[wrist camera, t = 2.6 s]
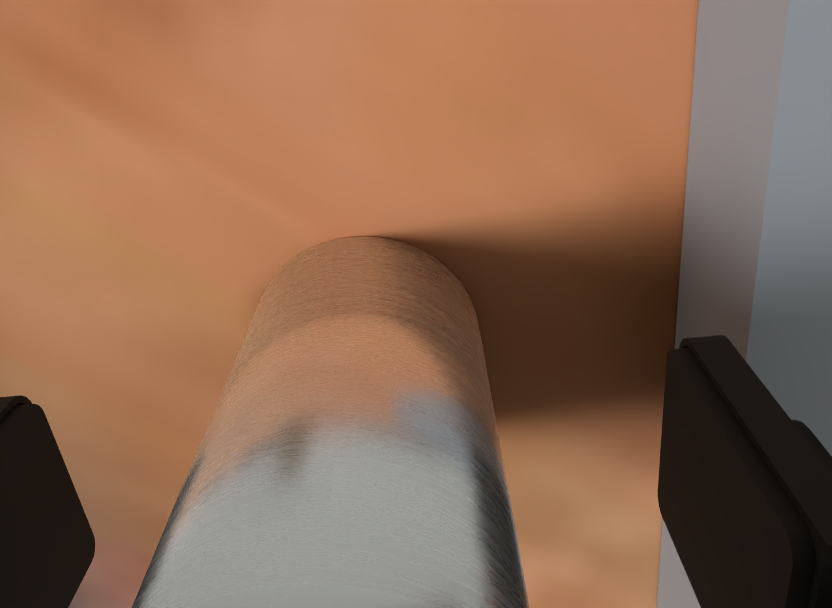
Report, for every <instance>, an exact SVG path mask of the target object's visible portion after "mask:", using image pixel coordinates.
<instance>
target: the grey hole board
mask: <svg viewBox="0 0 832 608" xmlns="http://www.w3.org/2000/svg"><path fill="white" fill-rule="evenodd" d="M715 335H725V336H726V337H727V338H728V339H729V340H730V342H731V343H732V344H733V345H734V347H735V348H736V349H737V351H738V352H739V353H740V354H741V356H742V357H743V358H744V360H745V361H746V362H747V363H748V365H749V366H750V367H751V369H752V370H753V371H754V372H755V374H756V375H757V376H758V378H759V379H760V380H761V381H762V383H763V384H764V385H765V387H766V388H767V389H768V390H769V392H770V393H771V394H772V396H773V397H774V398H775V400H776V401H777V402H778V403H779V405H780V406H781V407H782V409H783V410H784V411H785V412H786V414H787V415H788V416H789V418H790V419H791V420H798V421H801V422H803V423H804V424H805V425H806V426H807V427H808V428H809V429H810V430H811V431H812V432H813V434H814V435H815V436H816V437H817V439H818V440H819V441H820V442H821V444H822V445H823V446H824V447H825V449H826V450H827V451H828V452H829V454H830V455H831V456H832V0H699V5H698V20H697V34H696V48H695V63H694V77H693V91H692V106H691V120H690V134H689V149H688V163H687V178H686V192H685V206H684V221H683V235H682V249H681V264H680V278H679V292H678V307H677V321H676V336H675V349H679V345H680V343H681V340H683V339H684V338H692V337H704V336H715ZM657 608H701V607H700V605H699V602H698V600H697V598H696V595H695V593H694V591H693V588H692V586H691V583H690V581H689V579H688V576H687V574H686V572H685V569H684V567H683V565H682V562H681V560H680V558H679V555H678V553H677V551H676V548H675V546H674V544H673V541H672V539H671V537H670V534H669V532H668V530H667V527H666V525H665V522H664V520H663V522H662V537H661V551H660V565H659V580H658V594H657Z"/></svg>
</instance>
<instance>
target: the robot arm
mask: <svg viewBox="0 0 832 608" xmlns="http://www.w3.org/2000/svg"><path fill="white" fill-rule="evenodd" d="M658 501H659V507H660V511H661V515H662V518H663V520H664V522H665V525H666V527H667V530H668V532H669V534H670V537H671V539H672V541H673V544H674V546H675V548H676V551H677V553H678V555H679V558H680V560H681V562H682V565H683V567H684V569H685V572H686V574H687V576H688V579H689V581H690V583H691V586H692V588H693V591H694V593H695V595H696V598H697V600H698V602H699V605H700V607H701V608H832V456H831V455H830V454H829V452H828V451H827V450H826V449H825V447H824V446H823V445H822V444H821V442H820V441H819V440H818V439H817V437H816V436H815V435H814V434H813V432H812V431H811V430H810V429H809V428H808V427H807V426H806V425H805V424H804V423H803V422H801V421H798V420H791V419H790V418H789V416H788V415H787V414H786V412H785V411H784V410H783V409H782V407H781V406H780V405H779V403H778V402H777V401H776V400H775V398H774V397H773V396H772V394H771V393H770V392H769V390H768V389H767V388H766V387H765V385H764V384H763V383H762V381H761V380H760V379H759V378H758V376H757V375H756V374H755V372H754V371H753V370H752V369H751V367H750V366H749V365H748V363H747V362H746V361H745V360H744V358H743V357H742V356H741V354H740V353H739V352H738V351H737V349H736V348H735V347H734V345H733V344H732V343H731V342H730V340H729V339H728V338H727V337H726V336H725V335H715V336H704V337H692V338H684V339H683V340H681V343H680V345H679V349H670V350H669V352H668V354H667V363H666V378H665V393H664V408H663V422H662V437H661V452H660V467H659V482H658ZM94 552H95V539H94V535H93V532H92V530H91V527H90V525H89V522H88V520H87V517H86V515H85V512H84V510H83V507H82V505H81V502H80V500H79V497H78V495H77V493H76V490H75V488H74V485H73V483H72V480H71V478H70V475H69V473H68V470H67V468H66V465H65V463H64V460H63V458H62V455H61V453H60V450H59V448H58V446H57V443H56V441H55V438H54V436H53V433H52V431H51V428H50V426H49V423H48V421H47V418H46V416H45V413H44V411H43V410H42V408H41V407H40V406H39V405H36V404H32V403H31V401H30V400H29V399H28V398H27V397H24V396H10V397H0V608H68V607H69V605H70V603H71V601H72V599H73V597H74V595H75V593H76V591H77V589H78V587H79V585H80V583H81V581H82V580H83V578H84V576H85V574H86V572H87V570H88V568H89V566H90V564H91V562H92V559H93V557H94Z"/></svg>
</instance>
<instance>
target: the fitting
mask: <svg viewBox="0 0 832 608" xmlns="http://www.w3.org/2000/svg"><path fill="white" fill-rule="evenodd" d="M132 608H529V603H528V598H527V592H526V587H525V581H524V575H523V570H522V564H521V559H520V553H519V547H518V542H517V536H516V531H515V525H514V520H513V514H512V508H511V503H510V497H509V492H508V486H507V480H506V475H505V469H504V464H503V458H502V452H501V447H500V441H499V436H498V430H497V425H496V419H495V413H494V408H493V402H492V397H491V391H490V385H489V380H488V374H487V369H486V363H485V357H484V352H483V346H482V341H481V335H480V330H479V324H478V318H477V315H476V312H475V308H474V305H473V303H472V301H471V299H470V297H469V295H468V293H467V291H466V290H465V288H464V287H463V285H462V284H461V282H460V281H459V280H458V279H457V277H456V276H455V275H454V274H453V273H452V272H451V271H450V270H449V269H448V268H447V267H446V266H445V265H443V264H442V263H441V262H440V261H439V260H437V259H436V258H434V257H433V256H431V255H430V254H428V253H426V252H424V251H422V250H420V249H418V248H416V247H414V246H412V245H409V244H406V243H403V242H400V241H397V240H392V239H387V238H382V237H370V236H359V237H347V238H341V239H335V240H332V241H328V242H325V243H321V244H319V245H317V246H314V247H312V248H310V249H308V250H306V251H304V252H302V253H301V254H299V255H298V256H296V257H294V258H293V259H292V260H291V261H289V262H288V263H287V264H286V265H284V266H283V267H282V268H281V269H280V271H279V272H278V273H277V274H276V275H275V276H274V277H273V278H272V280H271V281H270V283H269V284H268V286H267V287H266V289H265V291H264V293H263V295H262V297H261V299H260V301H259V304H258V306H257V309H256V311H255V313H254V316H253V318H252V321H251V323H250V325H249V328H248V330H247V333H246V335H245V337H244V340H243V342H242V345H241V347H240V349H239V352H238V354H237V357H236V359H235V361H234V364H233V366H232V369H231V371H230V373H229V376H228V378H227V381H226V383H225V385H224V388H223V390H222V393H221V395H220V397H219V400H218V402H217V405H216V407H215V409H214V412H213V414H212V417H211V419H210V421H209V424H208V426H207V429H206V431H205V433H204V436H203V438H202V441H201V443H200V445H199V448H198V450H197V453H196V455H195V457H194V460H193V462H192V465H191V467H190V469H189V472H188V474H187V477H186V479H185V481H184V484H183V486H182V489H181V491H180V493H179V496H178V498H177V501H176V503H175V505H174V508H173V510H172V513H171V515H170V517H169V520H168V522H167V525H166V527H165V529H164V532H163V534H162V537H161V539H160V542H159V544H158V546H157V549H156V551H155V554H154V556H153V558H152V561H151V563H150V566H149V568H148V570H147V573H146V575H145V578H144V580H143V582H142V585H141V587H140V590H139V592H138V594H137V597H136V599H135V602H134V604H133V606H132Z"/></svg>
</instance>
